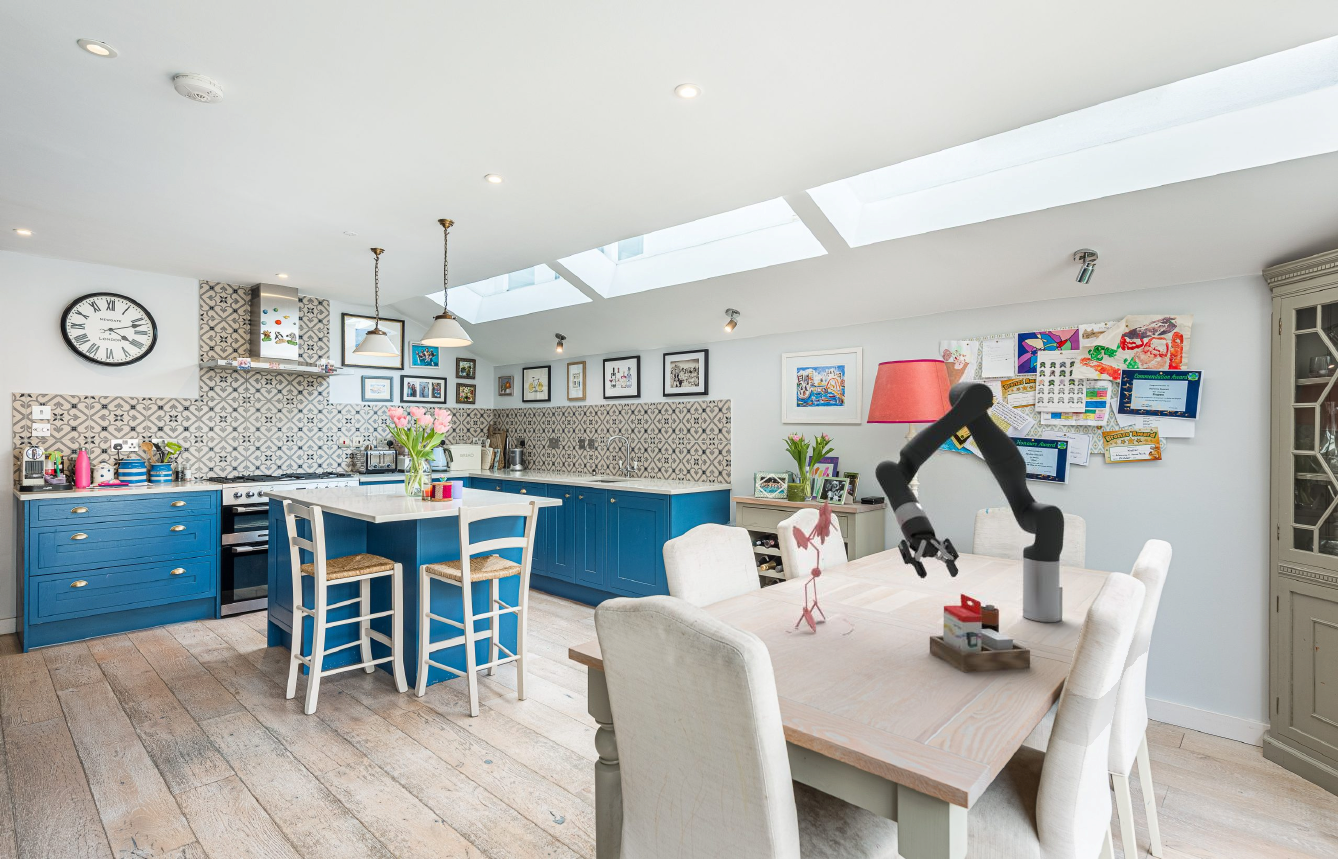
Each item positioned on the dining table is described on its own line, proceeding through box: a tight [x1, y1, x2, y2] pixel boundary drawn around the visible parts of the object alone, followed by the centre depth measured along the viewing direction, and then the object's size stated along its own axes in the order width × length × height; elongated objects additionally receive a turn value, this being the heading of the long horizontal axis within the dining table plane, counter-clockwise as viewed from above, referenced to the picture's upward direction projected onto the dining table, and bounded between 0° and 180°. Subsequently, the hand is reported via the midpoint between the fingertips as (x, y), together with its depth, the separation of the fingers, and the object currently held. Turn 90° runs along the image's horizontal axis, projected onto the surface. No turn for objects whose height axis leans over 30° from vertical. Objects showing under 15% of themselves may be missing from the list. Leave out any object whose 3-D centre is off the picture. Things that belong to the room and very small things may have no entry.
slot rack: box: [929, 635, 1031, 673], centre depth 153 cm, size 17×13×4 cm
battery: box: [971, 603, 1000, 633], centre depth 165 cm, size 4×7×10 cm, turn 55°
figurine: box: [785, 498, 854, 636], centre depth 178 cm, size 15×26×35 cm, turn 151°
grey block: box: [981, 629, 1014, 651], centre depth 154 cm, size 4×8×6 cm, turn 11°
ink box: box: [942, 593, 982, 653], centre depth 153 cm, size 8×5×15 cm, turn 8°
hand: (939, 575), depth 162 cm, fingers open, 8 cm apart
